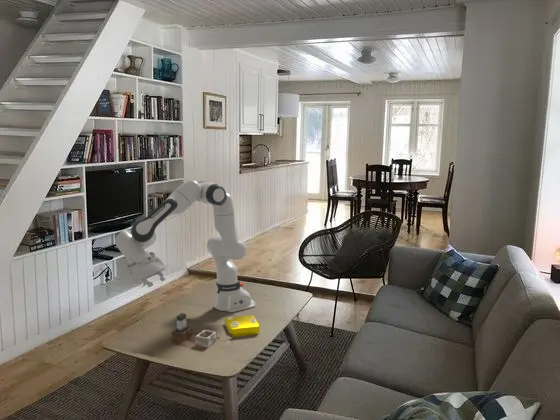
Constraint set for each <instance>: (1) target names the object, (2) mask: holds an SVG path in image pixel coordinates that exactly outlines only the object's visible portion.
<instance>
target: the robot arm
mask: <svg viewBox="0 0 560 420" xmlns="http://www.w3.org/2000/svg"><path fill="white" fill-rule="evenodd" d="M196 201H197V202H201V203H204V204H209V205H210V204H211V205H212V208H213V211H212V212H213V220H214V221H213V223H214V224H213V225H214V229H215V230H216V232H217V233H218V234H219V235H215V236H210V237H209V239H208V240H207V245H206V248H207V251H208V252H209V253H210V255H211V256H212V259H213V262H214V264H215V265H214V266H215V269H216V270H215V271H216V283H215V289H216V290H215V291H216V298H215V303H214V308H215V310H218V311H223V312H229V313H235V312H238V311H242V310H244V311H245V310H246V309H251V308H255V307H256V302H255V301H254V300H253V299H252V297H251V294H250V293H249V292H248V291H247V290H245V289H244V288H243V286H244V283H242V282H241V281H239V280H238V267H237V266H236V264H235V263H234V261H235V260H236V261H237V260H240V261H241V260H242V259H244V258H245V257H246V254H247V253H248V246H247V245H246V243H245V242H244V241H243V240H242V238H241V236H240V234H239V232H238V229H237V225H236V216H235V207H234V202H233V197H232V195H231V194H230V193H228V192H226V190H225V188H224V187H223V186H222V185H221V184H219V183H215V182H211V181H197V180H195V179H188V180H186V181H184V182H183V183H182V184H180V185H179V186H178V187H176V189H175V190H173V191H172V192H171V194H170V195H169V196H168V197H167V198H166V199H165V200H164V201H163V202H162V203H161V204H160V205H158V206H157V207H156V208H155V209H154V210H153V211H152V212H151V213H149V214H148V215H147V216H146V217H143V218H142V219H139V220H137V221H136V222H133V225H132V226H131V229H123V230H121V231H120V232H119V233H118V234H117V235H116V237H115V240H114V244H115V245H116V247H117V249H118V250H119V252H120V253H121V254H122V255H123V256H124V257H125V258H126V260H127V262H128V263H129V264H127V265H126V270H127V272H128V275H129V276H130V278H131V280H132V281H133V282H134V283H136V284H138V283H140V282H142V283H143V284H144V285H146V286H147V287H148V288H152V287H153V286H154V283H153V282H152V281H149V280H148V279H149V278H152V277H154V276H157V275H158V276H159V277H160V278H159V280H160V281H161V282H164V281H166V277H165V276H164V271H165V270H166V265H165V263H164V262H163V261H162V259H160V257H158V256H157V253H156V252H154V251H145V249H147V248H149V247H151V246H153V245H154V243H155V242H156V240H157V234H156V228H158V226H159V225H160V224H162V222H164V221H165V220H166V219H167V218H168V217H169V216H171V215H175V216H176V215H178V216H179V215H182V214H183V213H185V212H186V211H188V210H189V209H190V207H191V206H193V204H194V203H195V202H196ZM233 260H234V261H233Z"/></svg>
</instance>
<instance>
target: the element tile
mask: <svg viewBox="0 0 560 420" xmlns="http://www.w3.org/2000/svg"><path fill="white" fill-rule="evenodd" d="M224 326H225V328H226V329H227V330H226V331H227V332H228V334H229V335H230V336H229V337H230V338H238V337H239V336H240V337H245V336H247V335H248V336H254V335H255V336H256V335H259V334H260V323H259V322H258V321H257V318H256V317H255V316H254V315H253V314H248V315H239V316H229V317H226V318H224Z"/></svg>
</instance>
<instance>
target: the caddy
mask: <svg viewBox="0 0 560 420" xmlns="http://www.w3.org/2000/svg"><path fill="white" fill-rule="evenodd" d="M186 326H187V325H186ZM220 339H221V337H219V336H218V331H215V330H209V329H203V330H202V331H201V332H199V333H198V332H194V331H193V327H192V326H187V330H185V331H184V332H177V327H176V328H175V329H173V330H172V331H171V339H169V340H168V341H167V342H166V343H168V344H172V345H178V346H182V347H186V348H191V349H196V350H202V351H207V350H208V349H209V348H210V347H211V346H213V345H214V344H215V343H216V342H217V341H219V340H220Z"/></svg>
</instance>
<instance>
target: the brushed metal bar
mask: <svg viewBox="0 0 560 420" xmlns="http://www.w3.org/2000/svg"><path fill="white" fill-rule="evenodd" d="M176 328H177V332H184V331H185V330H187V313H183V312H181V313H179V314H177V315H176Z"/></svg>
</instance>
